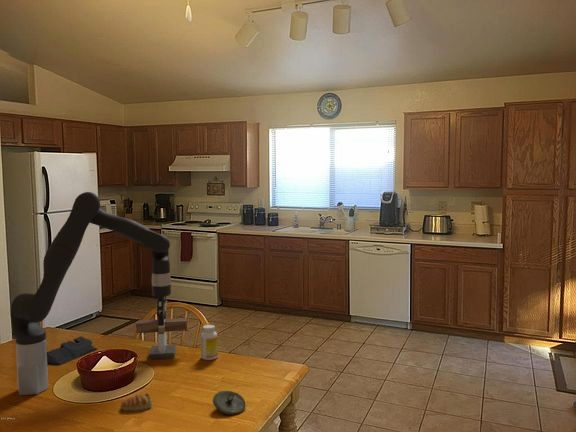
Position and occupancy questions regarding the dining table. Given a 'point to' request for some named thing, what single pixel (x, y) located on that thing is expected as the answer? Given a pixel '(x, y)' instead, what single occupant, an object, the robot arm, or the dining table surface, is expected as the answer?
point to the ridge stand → (162, 348)
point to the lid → (229, 402)
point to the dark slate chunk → (70, 351)
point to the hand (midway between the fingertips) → (162, 322)
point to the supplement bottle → (209, 343)
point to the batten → (153, 326)
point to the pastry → (137, 403)
